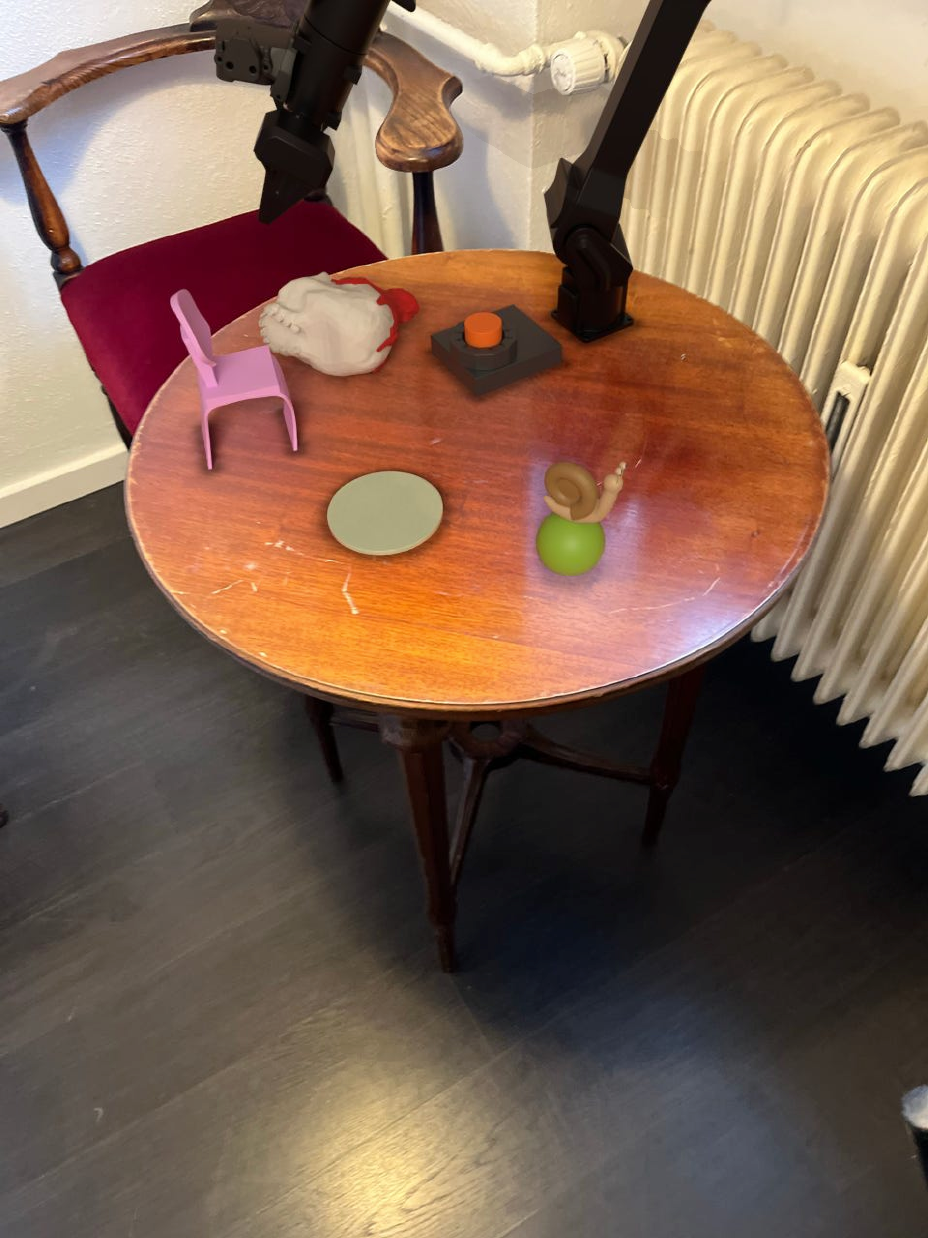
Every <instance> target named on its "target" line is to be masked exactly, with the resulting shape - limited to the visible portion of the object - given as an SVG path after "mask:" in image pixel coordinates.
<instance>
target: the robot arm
mask: <svg viewBox="0 0 928 1238" xmlns="http://www.w3.org/2000/svg"><path fill="white" fill-rule="evenodd" d="M712 1H713V0H649V1H648V4H647V6H646V8H645V11H644V13H643V15H642V18H641V20H640V22H639V24H638V27H637V30H636V31H635V34H634V36H633V39H632V41H631V44H630V46H629V49H628V51H627V52H626V56H625V58H624V59H623V62H622V64H621V67H620V69H619V71H618V74H617V76H616V78H615V81H614V84H613V85H612V88H611V91H610V93H609V95H608V98H607V99H606V103H605V105H604V107H603V109H602V112H601V113H600V116H599V118H598V121H597V124H596V127H595V128H594V131H593V133H592V136H591V138H590V140H589V142H588V145H587V147H586V148H585V149H584V151H583V152H582V153H581V154H580V155H579V156H578V157H577V158H576V159H575V160H574V162H571V161H569V160H567V159H565V158H564V157H560V158H559V160H558V162H557V166H556V170H555V175H554V178H553V180H552V183H551V184H550V186H549V187H548V189H547V190H546V191H545V192H544V193H543V198H544V205H545V209H546V211H545V214H546V220H547V225H548V230H549V236H550V241H551V246H552V250H553V252H554V254H555V257H556V258H557V259H558V260H559V261H560V262H561V264H563V265H564V266H563V267H561V283H559V284H558V287H557V306H556V308H555V309H553V310H551V313H550V314H551V315H550V316H551V318H552V319H554V320H555V321H556V322H557V323H558V324H559V325H561V326H562V327H563V328H565V329H566V331H568V332H570V333H571V334H572V335H573V336H574V337H576V338H577V339H578V340H579V341H581V342H582V343H584V344H589V343H591V342H594V341H597V340H599V339H601V338H604V337H607V336H610V335H612V334H614V333H617V332H619V331H621V330H624V329H626V328H629V327H632V326H633V325H635V318H634V317H632V316H631V315H630V314H629V313H627V312H626V308H627V307H626V306H627V297H628V289H629V281H630V277H631V275H632V273H633V271H634V265H633V262H632V259H631V256H630V252H629V249H628V245H627V242H626V238H625V236H624V235H625V234H624V232H623V228H622V225H621V223H620V220H621V216H622V210H623V203H624V197H625V192H626V191H625V190H626V185H627V179H628V176H629V173H630V171H631V170H632V169H631V168H632V167H633V164H634V162H635V160H636V158H637V156H638V154H639V152H640V150H641V147H642V145H643V143H644V141H645V139H646V137H647V135H648V132H649V130H650V128H651V126H652V124H653V121H654V120H655V117H656V115H657V114H658V111H659V109H660V107H661V105H662V102H663V100H664V98H665V96H666V94H667V92H668V89H669V88H670V85H671V83H672V81H673V79H674V77H675V75H676V72H677V70H678V69H679V66H680V65H681V62H682V60H683V58H684V55H685V54H686V51H687V49H688V47H689V45H690V43H691V40H692V38H693V36H694V35H695V32H696V30H697V28H698V25H699V23H700V22H701V19H702V18H703V15H704V13H705V11H706V9H707V7H708V6H709V4H710V3H711V2H712ZM391 2H393V3H394V4H396V5H398V6H399V7H400V8H402V9H404V10H405V11H407V12H408V13H414V12H415V11H416V9H417V0H307V2H306V6H305V7H304V10H303V14H300V18H298V17H296V18H295V20H294V23H293V25H292V27H291V30H290V31H288V30H284V29H279V28H276V27H275V26H270V25H266V24H261V23H255V22H251V21H245V20H239V19H234V18H223V19H221V20H220V21H219V23H218V25H217V27H216V30H215V33H214V46H215V47H214V49H215V53H214V55H213V62H214V63H215V76H216V78H217V79H219V80H220V81H223V82H227V83H233V82H235V81H236V82H241V83H246V84H252V85H258V86H263V87H264V86H267V87H269V91H270V94H269V97H271V98H272V100H273V102H274V105H275V108H276V109H274V110H271V111H270V110H269V111H267V112H265V113H264V116H263V119H262V122H261V124H260V126H259V129H258V133H257V135H256V139H255V142H254V146H253V150H252V151H253V153H254V155H255V158H256V159H257V161H259V162H260V163H261V165H262V167H263V169H264V177H263V185H262V189H261V196H260V201H259V207H258V213H257V221H258V222H260V223H261V224H264V225H265V226H270V225H271V224H272V223H274V222H275V221H276V220H278V219H279V218H280V217H282V215H284V214H286V213H287V212H288V211H289V210H290V209H291V208H293V207H294V206H295V205H296V204H298V203H299V202H300V201H302V200H304V199H305V198H306V197H307V196H309V195H310V194H313V192H314V191H315V192H317V191H320V190H325V189H326V186H327V184H328V182H329V179H330V178H331V175H332V173H333V170H334V166H335V165H334V164H335V157H336V149H335V146H334V144H333V140H332V138H331V135H329V134H327V133H325V131H326V130H327V129H328V128H330V129H331V130H333V131H335V132H337V131H338V129H339V126H340V125H341V122H342V118H343V110H344V108H345V105H346V103H347V101H348V99H349V96H350V94H351V91H352V90H353V87H354V85H355V86H358V84H359V83H360V79H361V77H362V75H363V66H364V62H365V60H366V58H367V55H368V54H369V51H370V48H371V46H372V44H373V41H374V39H375V36H376V35H377V33H378V31H379V28H380V25H381V23H382V21H383V19H384V16H385V14H386V12H387V9H388V7H389V5H390V3H391Z"/></svg>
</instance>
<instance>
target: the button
mask: <svg viewBox="0 0 928 1238" xmlns="http://www.w3.org/2000/svg"><path fill="white" fill-rule="evenodd" d="M464 321H465V322H464V329H465V341H466V343H467V344H468V345H470V346H473V347H477V348H484V347H492V346H494V345H497V344H499V343H500V342H501V340H502V321H501V319H500V318H499V317H498V316H497V315H495V314H492V313H491V312H485V311H484V312H482V311H481V312H475V313H473V314H471V315H468V317H466V318H465V320H464Z"/></svg>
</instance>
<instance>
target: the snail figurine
mask: <svg viewBox="0 0 928 1238" xmlns="http://www.w3.org/2000/svg"><path fill="white" fill-rule="evenodd" d="M626 469H627V462H625V461H620V462H619V464H618V467H615V469H614V473H613V472H612V473H608V474H606V476H605V477H604V478H603V490H602V493H600V488H599V485H598V484H597V481H596V479H595V478H594V477H593V475H592V474H591V473H590V472H589V471H588V470H587V469H586V468H585V467H583V466H581V465H579V464H577V463H575V462H571V461H557V462H555V463H553V464H552V465H550V466H549V467H548V468H547V470H546V471H545V474H544V477H543V481H544V482H543V483H544V487H545V490H546V492H547V493H548V494H544V495H543V497H542V498H543V500H544V503H545V504H546V506H547V507H548V508H549V510H551V513H549V514H548V515H546V517H545V518H544V519H543V520H542V522H541V523H540V524H539V527H538V528H537V533H536V538H535V547H536V551H537V555H538V557H539V559H540V560H541V562H542V563H543V565H544V566H545V567H546V568H548V569H549V570H550V571H551V572H553V573H555V574H557V575H561V576H565V577H576V576H577V577H578V576H581V575H584V574H586V573H588V572H590V571H591V570H592V569H594V568H595V567H596V565H597V564H598V563H599V562H600V561H601V559H602V557H603V555H604V552H605V548H606V534H605V529H604V527H603V525H602V524H601V521H603V520H604V519H606V517H607V516H608V515H609V513H610V512H611V511H612V509H613V507H614V505H615V503H616V500H617V499H618V496H619V492H621V490H622V489H623V485H624V480H623V475H624V470H626Z"/></svg>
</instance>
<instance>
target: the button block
mask: <svg viewBox="0 0 928 1238" xmlns="http://www.w3.org/2000/svg"><path fill="white" fill-rule="evenodd" d="M490 313H492V314H495V315H497V316H498V317H499V318H500V319H501V321H502V340H501V342H500V343H499V344H497V345H494V346H492V347H484V348H477V347H473V346H470V345H468V344H467V343H466V341H465V329H464V322H465V320H462V321H460V322H458V323H457V324H456V325H453V326H450V327H448V328H445V329H443V330H440V331H437V332H435V333H432V334H430V343H431V344H430V345H431V354H432V355H433V356H434V357H436V359H437V360H438V361H439V362H440V363H442V365H444V367H446V369H447V370H449V372H451V374H452V375H453V376H455V377H456V379H458V381H460V382H461V383H462V384H463V385H464V386H465V387H466V389H468V390H469V391H470V392H471V393H472V395H474V396H475V397H476V398H479V397H482V396H484V395H486V394H489V393H491V392H493V391H496V390H500V389H501V388H504V387H506V386H508V385H511V384H513V383H515V382H519V381H521V380H523V379H526V378H528V377H531V376H534V375H535V374H538V373H540V372H543V371H546V370H548V369H551V368H553V367H556V366H558V365H561V364H562V359H563V357H562V355H563V344H562V343H560V342H559V341H558V340H557V339H556V338H554V337H553V336H552V335H551V334H549V333H548V332H547V331H546V330H545V329H544V328H543V327H541V325H539V324H537V323H536V321H534V320H533V319H532V318H531V317H529V316H528V315H527V314H526V313H525V312H523V311H522V310H521V309H520V308H518V307H517V306H516V305H515V304H514V303H513V304H510V305H508V306H504V307H502V308H499V309H497V310H494V311H491V312H490Z"/></svg>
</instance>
